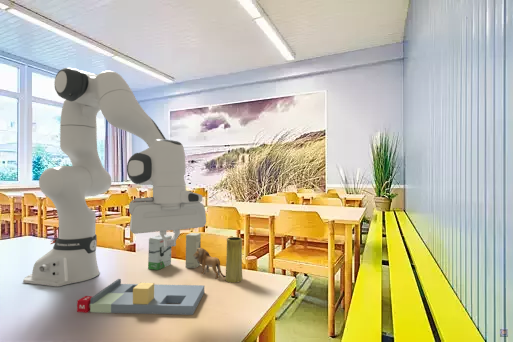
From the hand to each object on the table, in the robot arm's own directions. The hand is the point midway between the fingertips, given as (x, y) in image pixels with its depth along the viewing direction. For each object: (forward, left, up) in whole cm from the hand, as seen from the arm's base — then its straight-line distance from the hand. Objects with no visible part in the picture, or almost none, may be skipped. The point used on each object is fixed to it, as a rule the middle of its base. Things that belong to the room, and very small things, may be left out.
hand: (169, 246), depth 79 cm
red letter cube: (-21, -3, -17) cm, 27 cm away
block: (-6, -2, -14) cm, 15 cm away
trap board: (-6, +2, -16) cm, 17 cm away
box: (-2, +35, -17) cm, 38 cm away
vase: (+16, +21, -17) cm, 31 cm away
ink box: (-15, +34, -17) cm, 40 cm away
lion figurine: (+6, +25, -17) cm, 31 cm away
